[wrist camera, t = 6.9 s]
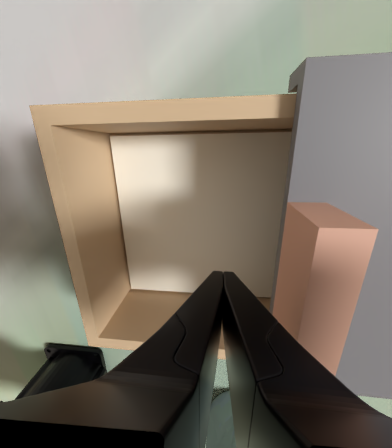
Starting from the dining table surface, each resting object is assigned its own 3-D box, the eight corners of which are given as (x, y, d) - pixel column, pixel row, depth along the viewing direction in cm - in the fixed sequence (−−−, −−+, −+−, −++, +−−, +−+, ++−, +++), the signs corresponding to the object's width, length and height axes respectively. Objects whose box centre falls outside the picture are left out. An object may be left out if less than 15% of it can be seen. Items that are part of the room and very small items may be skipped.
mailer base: (127, 289, 19) (88, 345, 14) (102, 122, 15) (29, 105, 9) (361, 304, 17) (429, 379, 12) (420, 111, 12) (582, 80, 7)
